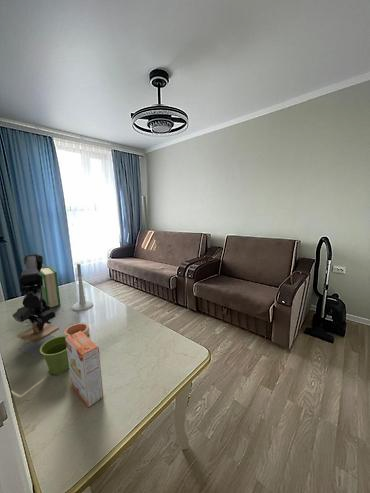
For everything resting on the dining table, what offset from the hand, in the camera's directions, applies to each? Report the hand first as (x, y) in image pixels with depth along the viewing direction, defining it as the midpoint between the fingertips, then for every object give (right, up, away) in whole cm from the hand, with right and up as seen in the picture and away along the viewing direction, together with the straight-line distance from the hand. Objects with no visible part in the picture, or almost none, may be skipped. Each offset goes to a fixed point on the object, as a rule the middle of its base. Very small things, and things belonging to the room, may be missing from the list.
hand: (38, 329), depth 99 cm
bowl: (+14, -7, +8) cm, 18 cm away
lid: (0, -2, 0) cm, 2 cm away
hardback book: (-22, 0, +44) cm, 50 cm away
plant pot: (+18, -12, -12) cm, 24 cm away
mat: (0, -8, +2) cm, 9 cm away
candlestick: (+2, -1, +40) cm, 40 cm away
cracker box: (+34, -14, -23) cm, 43 cm away
